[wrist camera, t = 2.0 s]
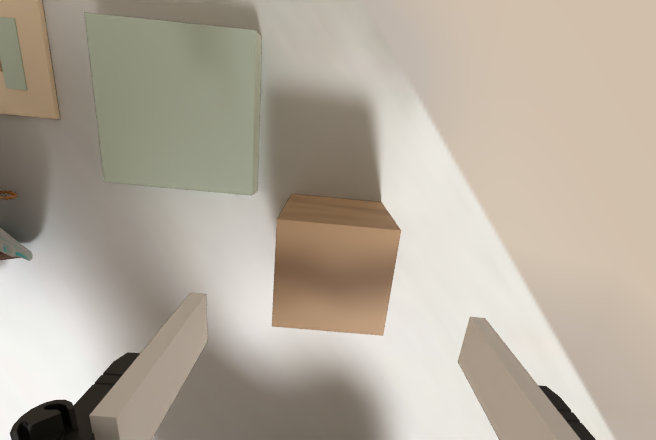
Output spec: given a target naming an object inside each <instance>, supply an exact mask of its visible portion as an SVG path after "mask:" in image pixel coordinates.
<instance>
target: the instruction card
mask: <svg viewBox="0 0 656 440" xmlns="http://www.w3.org/2000/svg"><path fill="white" fill-rule="evenodd" d="M0 114H9V115H19V116H30V117H40V118H50V119H60V116H59V109H58V102H57V96H56V89H55V82H54V76H53V69H52V62H51V56H50V49H49V42H48V36H47V29H46V22H45V16H44V9H43V2H42V0H0Z"/></svg>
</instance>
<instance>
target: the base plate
mask: <svg viewBox="0 0 656 440" xmlns="http://www.w3.org/2000/svg"><path fill="white" fill-rule="evenodd" d="M84 14H85V22H86V31H87V39H88V48H89V56H90V65H91V73H92V82H93V90H94V99H95V108H96V116H97V125H98V133H99V142H100V150H101V159H102V167H103V176H104V182H110V183H121V184H132V185H143V186H154V187H164V188H175V189H186V190H197V191H208V192H219V193H230V194H241V195H253V194H255V193H256V192H257V191H258V162H259V126H260V89H261V53H262V37H261V36H260V35H259V33H258V32H257V31H256V30H251V29H241V28H231V27H222V26H212V25H202V24H192V23H183V22H173V21H163V20H154V19H144V18H134V17H125V16H115V15H105V14H96V13H86V12H84Z"/></svg>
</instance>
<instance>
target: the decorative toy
mask: <svg viewBox="0 0 656 440" xmlns="http://www.w3.org/2000/svg"><path fill="white" fill-rule="evenodd" d="M1 193H3V194H5V193H7V194H11V195H12V196H5V197H4V196H0V199H12V198H16V197H17V194H16V193H15V192H11V191H0V194H1ZM14 258H24V259H26V260H29V261H30V260H31V259H32V253H31V252H30V251H29V250H28V249H27V248H25V247H24V246H23V245H22V244H20V243H19V242H18V241H17V240H15V239H14V238H13V237H12V236H10V235H9V234H8V233H7V232H5V231H4V230H3V229H2V228H0V260H6V259H14Z"/></svg>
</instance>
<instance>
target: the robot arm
mask: <svg viewBox="0 0 656 440" xmlns="http://www.w3.org/2000/svg"><path fill="white" fill-rule="evenodd" d="M207 341H208V332H207V299H206V294H199V293H190V294H189V295H188V297H187V298H186V299H185V300H184V301H183V303H182V304H181V305H180V306H179V308H178V309H177V310H176V311H175V312H174V314H173V315H172V316H171V317H170V318H169V320H168V321H167V322H166V323H165V324H164V326H163V327H162V328H161V329H160V330H159V332H158V333H157V334H156V335H155V337H154V338H153V339H152V340H151V341H150V343H149V344H148V345H147V346H146V347H145V349H144V350H143V351H142V352H141V353H126V354H125V355H123V356H122V357H120V358H119V359H117V360H116V361H114V362H113V363H112V364H111V365H110V366H109V367H108V369H107V370H106V371H105V372H104V373H103V375H101V376H100V377H99V378H98V380H97V381H96V382H95V384H94V385H92V386H91V387H90V388H89V389H88V391H87V392H86V393H85V394H84V395H83V396H82V397H81V398H80V399H79V400H78V402H77V403H76V404H75V405H74V406H73V404H72V402H69V401H67V400H53V401H50V402H46V403H43V404H41V405H39V406H37V407H35V408H33V409H31V410H30V411H28V412H27V413H25V414H24V415H23V416H21V417H20V418H19V419H18V421H17V422H16V423H15V424H14V425H13V427H12V430H11V432H10V436H11V439H12V440H152V438H153V436H154V435H155V433H156V431H157V429H158V428H159V426H160V424H161V422H162V421H163V419H164V417H165V415H166V413H167V412H168V410H169V408H170V406H171V405H172V403H173V401H174V399H175V398H176V396H177V394H178V392H179V391H180V389H181V387H182V385H183V384H184V382H185V380H186V378H187V376H188V375H189V373H190V371H191V369H192V368H193V366H194V364H195V362H196V361H197V359H198V357H199V355H200V354H201V352H202V350H203V348H204V346H205V345H206V343H207ZM458 363H459V365H460V367H461V369H462V371H463V372H464V374H465V376H466V378H467V380H468V382H469V384H470V386H471V388H472V389H473V391H474V393H475V395H476V397H477V399H478V401H479V403H480V404H481V406H482V408H483V410H484V412H485V414H486V416H487V418H488V420H489V421H490V423H491V425H492V427H493V429H494V431H495V433H496V435H497V437H498V438H499V440H595V438H594V437H593V436H592V435H591V434H590V432H589V431H588V430H587V429H586V428H585V426H584V425H583V424H582V423H580V420H579V419H578V418H577V417H576V416H575V414H574V413H572V412H571V410H570V408H569V407H568V406H567V405H566V404H565V402H564V401H563V400H562V399H561V398H560V397H559V396H558V395H557V394H555V393H554V392H553V391H552V390H550V389H549V388H548V387H547V386H538V385H537V384H536V382H535V381H534V380H533V379H532V377H531V376H530V375H529V373H528V372H527V371H526V370H525V368H524V367H523V366H522V365H521V363H520V362H519V361H518V359H517V358H516V357H515V356H514V354H513V353H512V352H511V351H510V349H509V348H508V347H507V345H506V344H505V343H504V342H503V340H502V339H501V338H500V337H499V335H498V334H497V333H496V332H495V330H494V329H493V328H492V326H491V325H490V324H489V323H488V321H487V320H486V319H485V318H477V317H470V318H469V322H468V326H467V330H466V333H465V337H464V341H463V344H462V348H461V352H460V355H459V359H458Z"/></svg>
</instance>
